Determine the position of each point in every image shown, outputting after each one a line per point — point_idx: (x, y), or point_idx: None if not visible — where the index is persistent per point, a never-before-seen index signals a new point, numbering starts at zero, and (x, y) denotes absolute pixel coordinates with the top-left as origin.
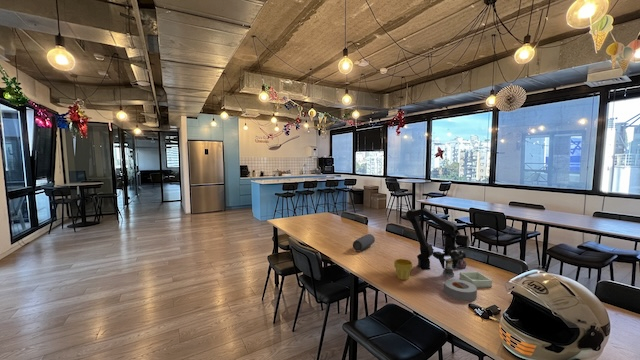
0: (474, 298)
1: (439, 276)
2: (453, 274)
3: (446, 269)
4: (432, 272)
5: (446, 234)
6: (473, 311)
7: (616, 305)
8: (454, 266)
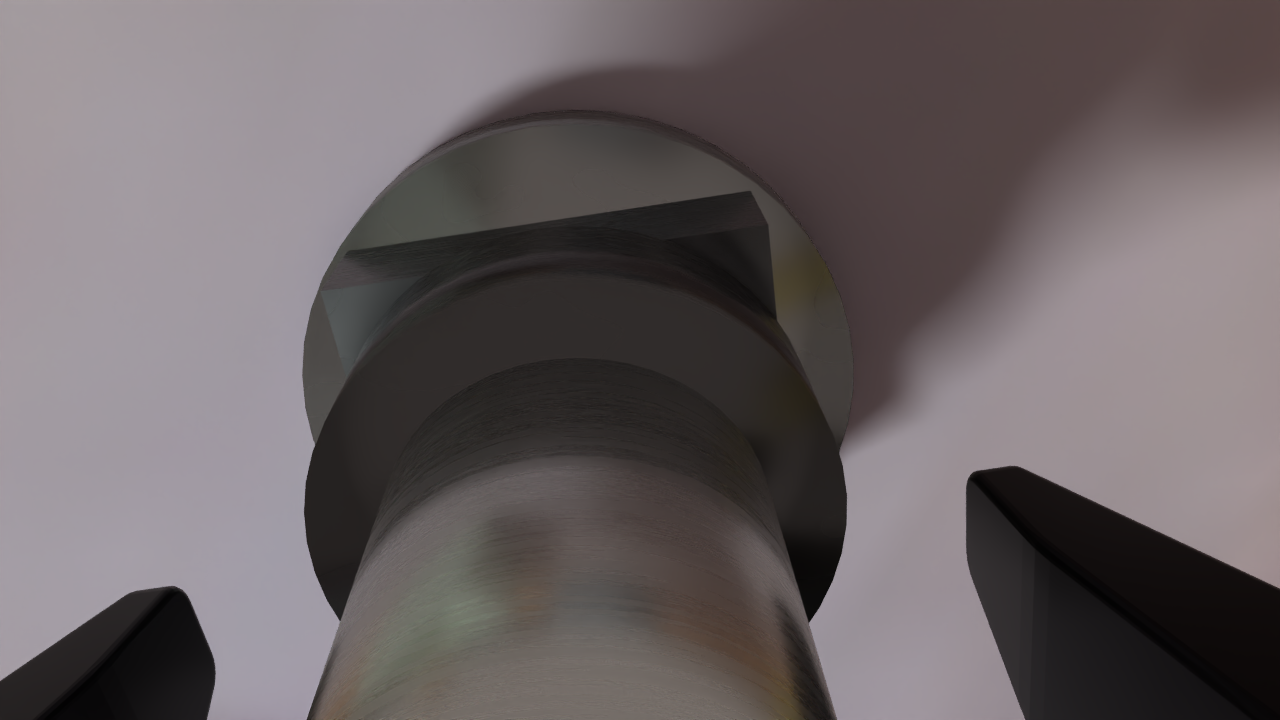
0: None
1: (1147, 147)
2: (373, 252)
3: (764, 468)
4: (1200, 549)
5: None
6: None
7: None
8: (115, 681)
